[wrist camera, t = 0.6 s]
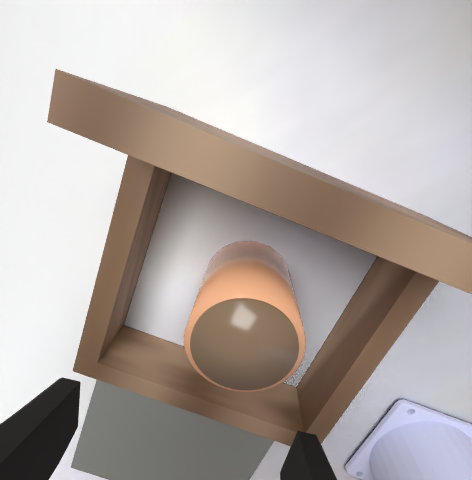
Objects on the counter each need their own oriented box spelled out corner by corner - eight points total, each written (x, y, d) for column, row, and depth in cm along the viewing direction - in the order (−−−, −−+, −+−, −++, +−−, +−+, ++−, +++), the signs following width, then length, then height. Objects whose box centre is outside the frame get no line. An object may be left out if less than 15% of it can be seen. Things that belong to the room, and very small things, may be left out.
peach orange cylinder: (303, 260, 18) (328, 321, 12) (268, 327, 19) (275, 409, 13) (223, 228, 17) (207, 274, 11) (194, 299, 19) (167, 372, 13)
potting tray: (426, 216, 16) (616, 304, 8) (304, 404, 21) (337, 583, 13) (167, 106, 15) (55, 68, 7) (102, 332, 20) (-9, 475, 12)
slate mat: (282, 424, 22) (283, 426, 22) (225, 514, 26) (225, 517, 26) (103, 361, 21) (101, 363, 21) (72, 464, 25) (70, 467, 25)
